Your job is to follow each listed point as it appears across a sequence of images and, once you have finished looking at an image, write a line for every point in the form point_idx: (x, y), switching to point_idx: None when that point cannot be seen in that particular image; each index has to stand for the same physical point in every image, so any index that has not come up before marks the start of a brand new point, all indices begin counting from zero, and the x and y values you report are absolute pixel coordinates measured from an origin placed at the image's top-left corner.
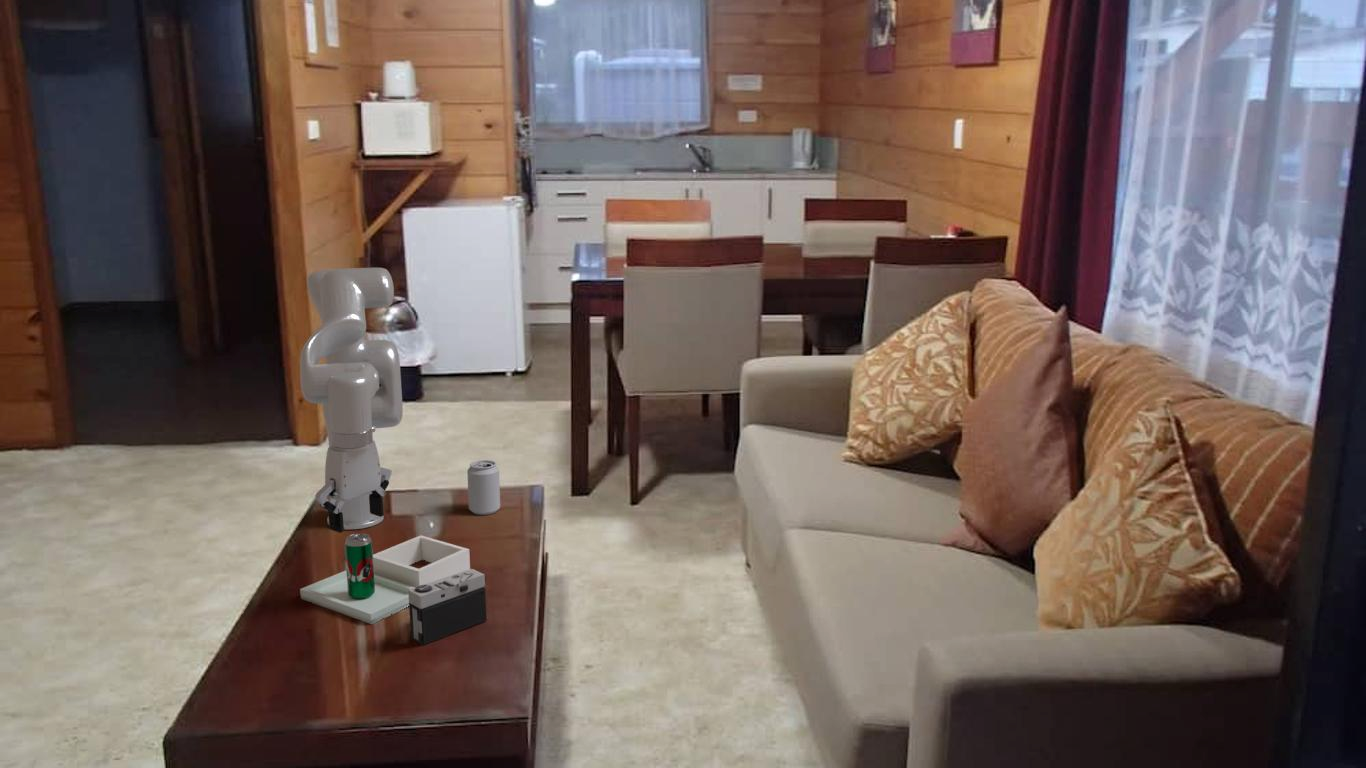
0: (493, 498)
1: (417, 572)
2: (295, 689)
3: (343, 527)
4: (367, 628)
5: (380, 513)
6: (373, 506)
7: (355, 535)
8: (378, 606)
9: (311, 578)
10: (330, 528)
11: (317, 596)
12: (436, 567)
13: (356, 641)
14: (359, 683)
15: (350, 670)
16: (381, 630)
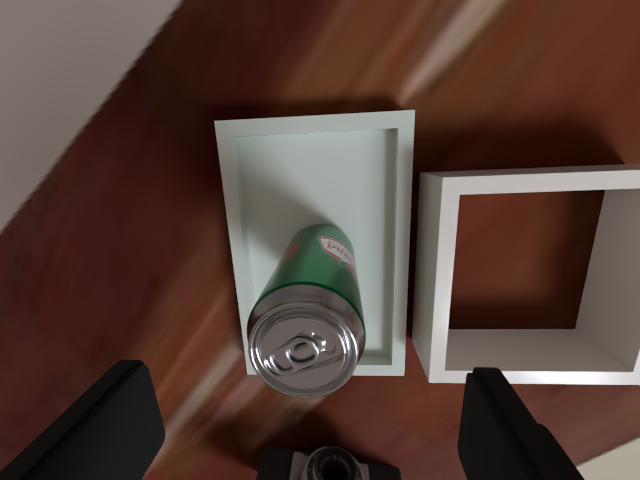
0: None
1: (428, 375)
2: (45, 423)
3: (150, 461)
4: (238, 364)
5: (467, 475)
6: (493, 463)
7: (312, 324)
8: None
9: (326, 13)
10: (121, 364)
11: (225, 197)
12: None
13: (194, 385)
14: None
15: None
16: (251, 388)
